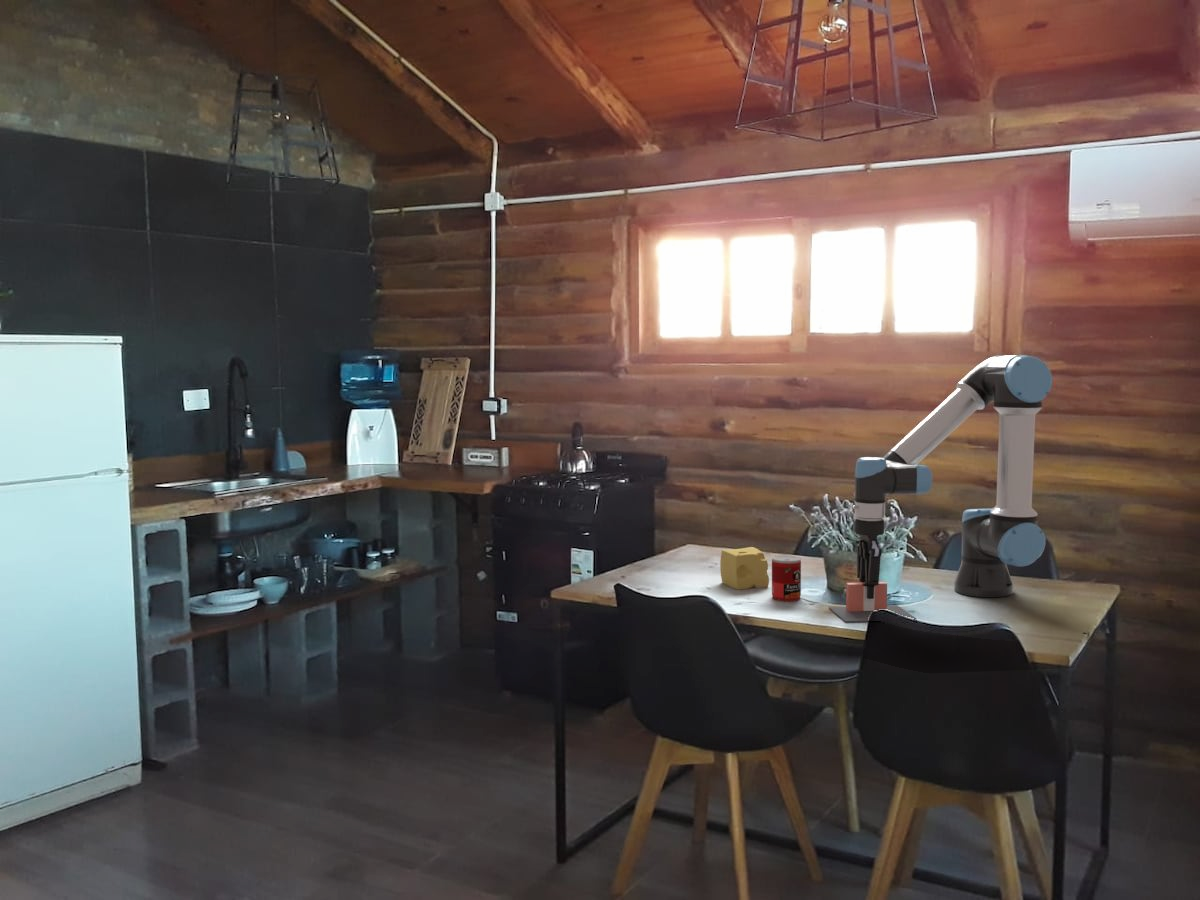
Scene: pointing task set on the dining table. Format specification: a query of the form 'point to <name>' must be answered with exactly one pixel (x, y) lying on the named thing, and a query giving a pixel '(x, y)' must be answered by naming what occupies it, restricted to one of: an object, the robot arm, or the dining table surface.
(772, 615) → the dining table surface
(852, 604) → the block
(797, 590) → the canned food
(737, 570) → the cheese
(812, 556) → the dining table surface
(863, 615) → the mat
